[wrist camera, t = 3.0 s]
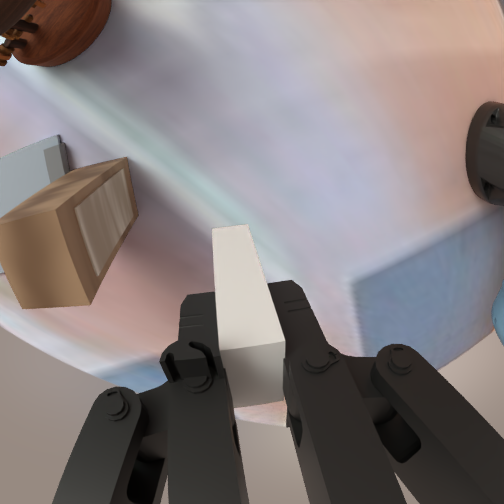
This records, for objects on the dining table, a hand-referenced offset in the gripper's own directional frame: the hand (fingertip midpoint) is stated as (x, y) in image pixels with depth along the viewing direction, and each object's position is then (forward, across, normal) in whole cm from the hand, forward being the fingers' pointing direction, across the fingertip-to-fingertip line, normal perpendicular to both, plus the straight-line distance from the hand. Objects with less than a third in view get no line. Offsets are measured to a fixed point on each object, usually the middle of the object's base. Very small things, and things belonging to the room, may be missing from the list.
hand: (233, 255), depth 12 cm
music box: (+16, +14, -20) cm, 29 cm away
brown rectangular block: (+16, +12, 0) cm, 19 cm away
